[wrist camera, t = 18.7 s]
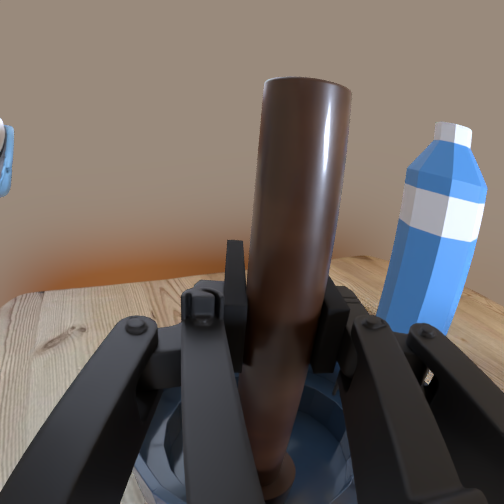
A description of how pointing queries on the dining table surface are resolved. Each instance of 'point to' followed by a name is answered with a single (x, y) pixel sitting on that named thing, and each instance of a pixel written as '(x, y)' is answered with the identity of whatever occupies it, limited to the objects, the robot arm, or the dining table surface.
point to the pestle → (289, 260)
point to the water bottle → (434, 233)
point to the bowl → (299, 448)
